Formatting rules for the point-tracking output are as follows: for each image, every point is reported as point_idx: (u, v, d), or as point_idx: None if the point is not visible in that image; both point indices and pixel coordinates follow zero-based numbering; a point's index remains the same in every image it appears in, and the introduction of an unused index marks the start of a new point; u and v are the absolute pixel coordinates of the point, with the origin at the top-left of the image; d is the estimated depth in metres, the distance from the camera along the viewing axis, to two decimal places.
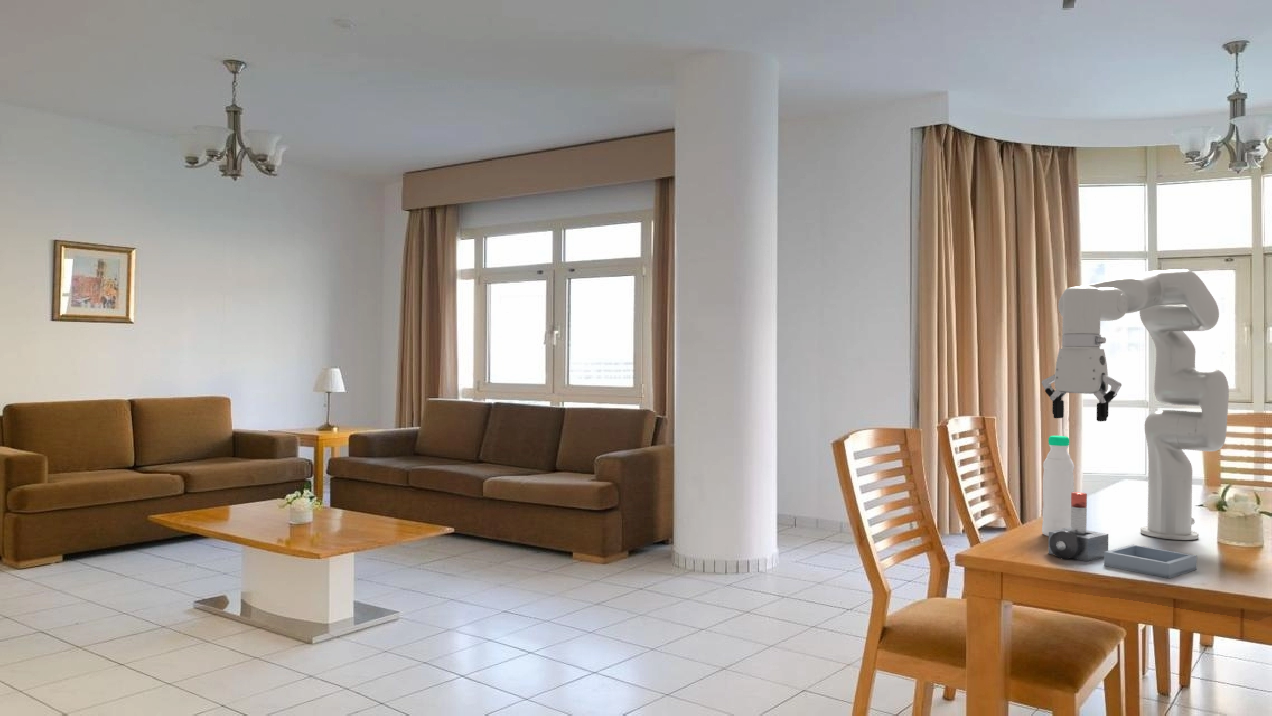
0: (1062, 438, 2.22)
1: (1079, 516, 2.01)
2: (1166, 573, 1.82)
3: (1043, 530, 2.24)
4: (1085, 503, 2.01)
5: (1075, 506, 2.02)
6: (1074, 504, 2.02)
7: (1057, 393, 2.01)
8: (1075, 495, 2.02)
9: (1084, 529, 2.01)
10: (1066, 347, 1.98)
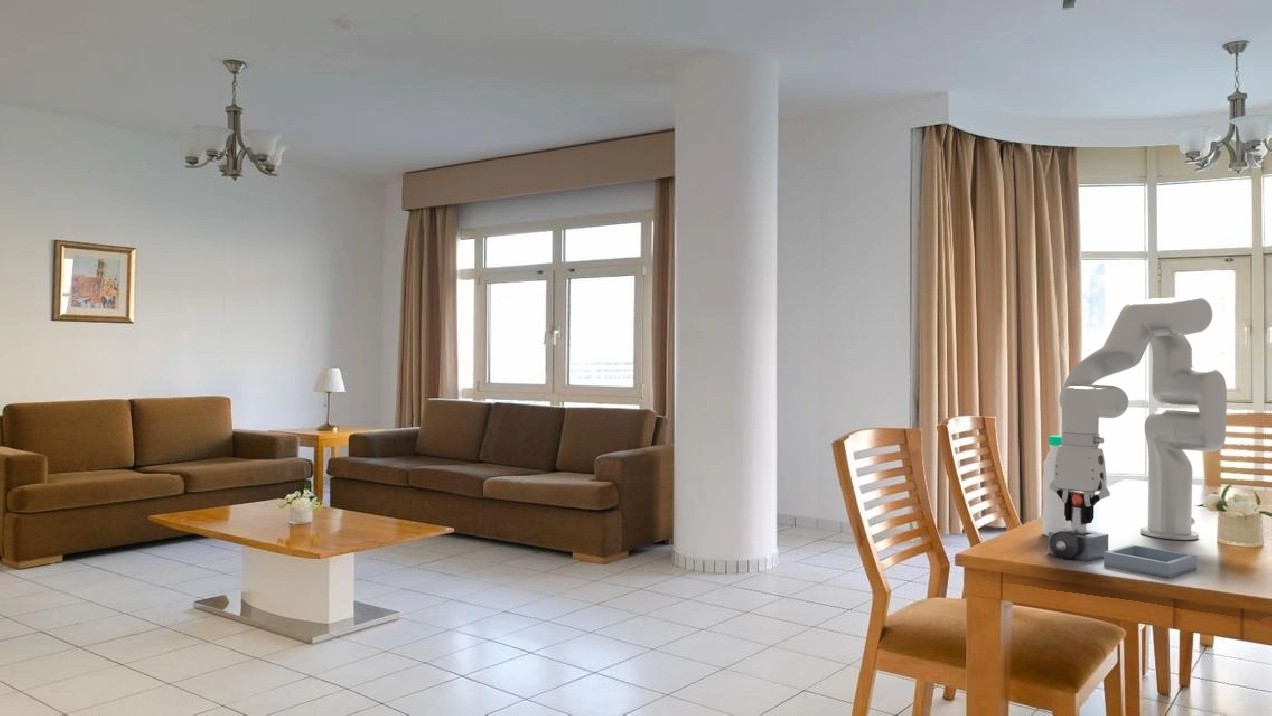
0: None
1: (1079, 516, 2.01)
2: (1166, 573, 1.82)
3: (1043, 530, 2.24)
4: None
5: (1075, 506, 2.02)
6: (1074, 504, 2.02)
7: (1066, 494, 2.04)
8: (1075, 495, 2.02)
9: (1084, 529, 2.01)
10: (1065, 446, 2.02)
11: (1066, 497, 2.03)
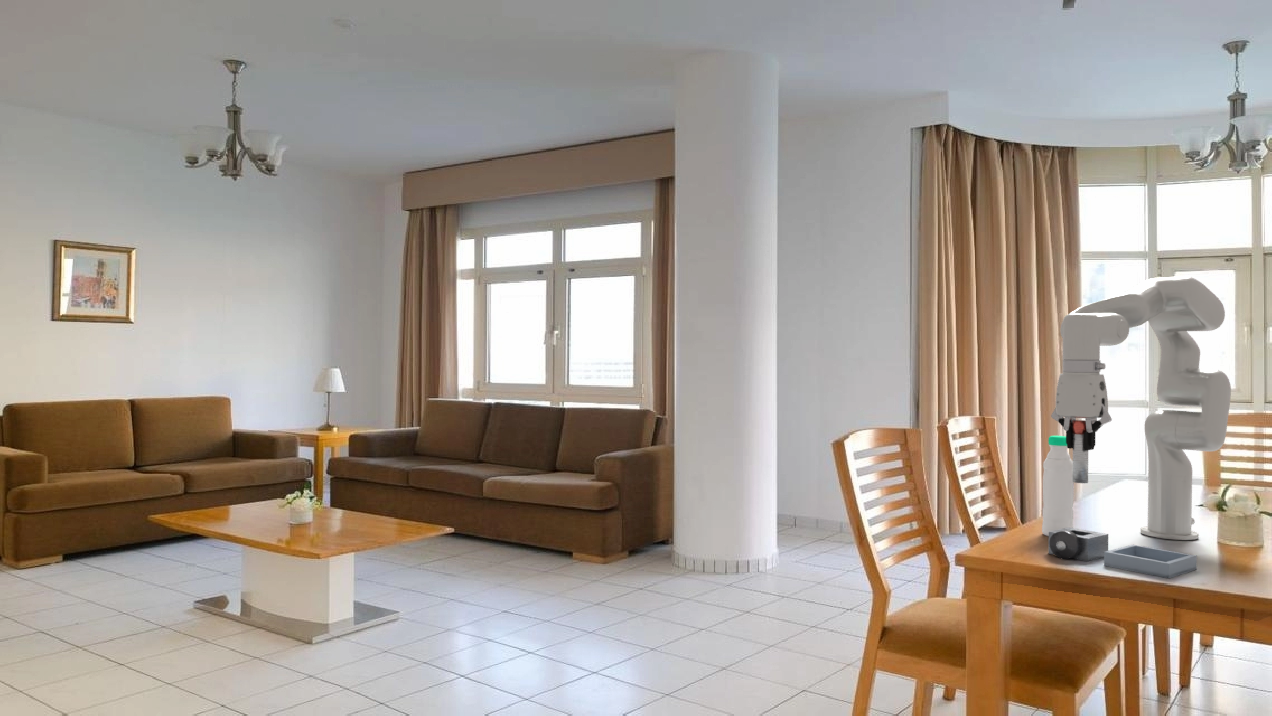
0: (1062, 438, 2.22)
1: (1081, 443, 2.01)
2: (1166, 573, 1.82)
3: (1043, 530, 2.24)
4: None
5: (1077, 433, 2.02)
6: (1076, 431, 2.02)
7: (1067, 421, 2.04)
8: (1077, 422, 2.02)
9: (1086, 456, 2.01)
10: (1066, 373, 2.01)
11: (1068, 425, 2.03)
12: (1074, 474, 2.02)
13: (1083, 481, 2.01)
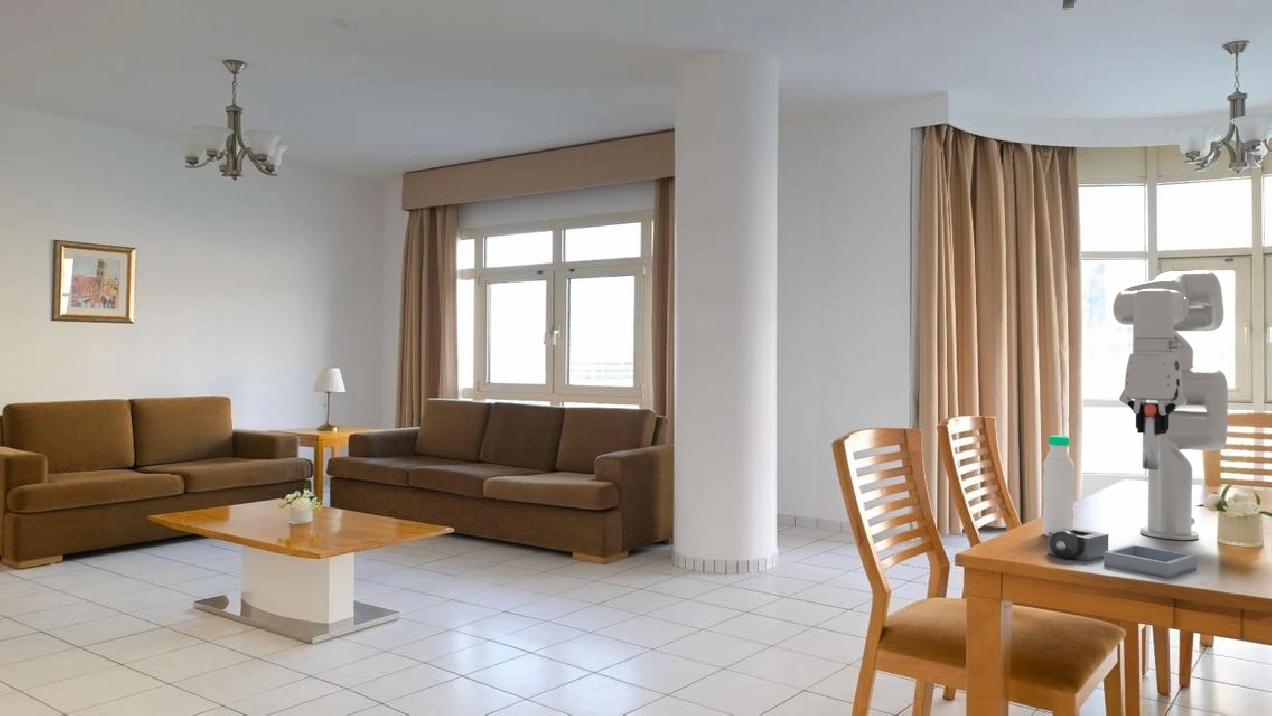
0: (1062, 438, 2.22)
1: (1153, 426, 1.89)
2: (1166, 573, 1.82)
3: (1043, 530, 2.24)
4: None
5: (1148, 416, 1.90)
6: (1147, 414, 1.90)
7: (1138, 404, 1.92)
8: (1148, 404, 1.90)
9: (1158, 440, 1.89)
10: (1138, 352, 1.90)
11: (1138, 407, 1.92)
12: (1145, 460, 1.90)
13: (1155, 467, 1.89)
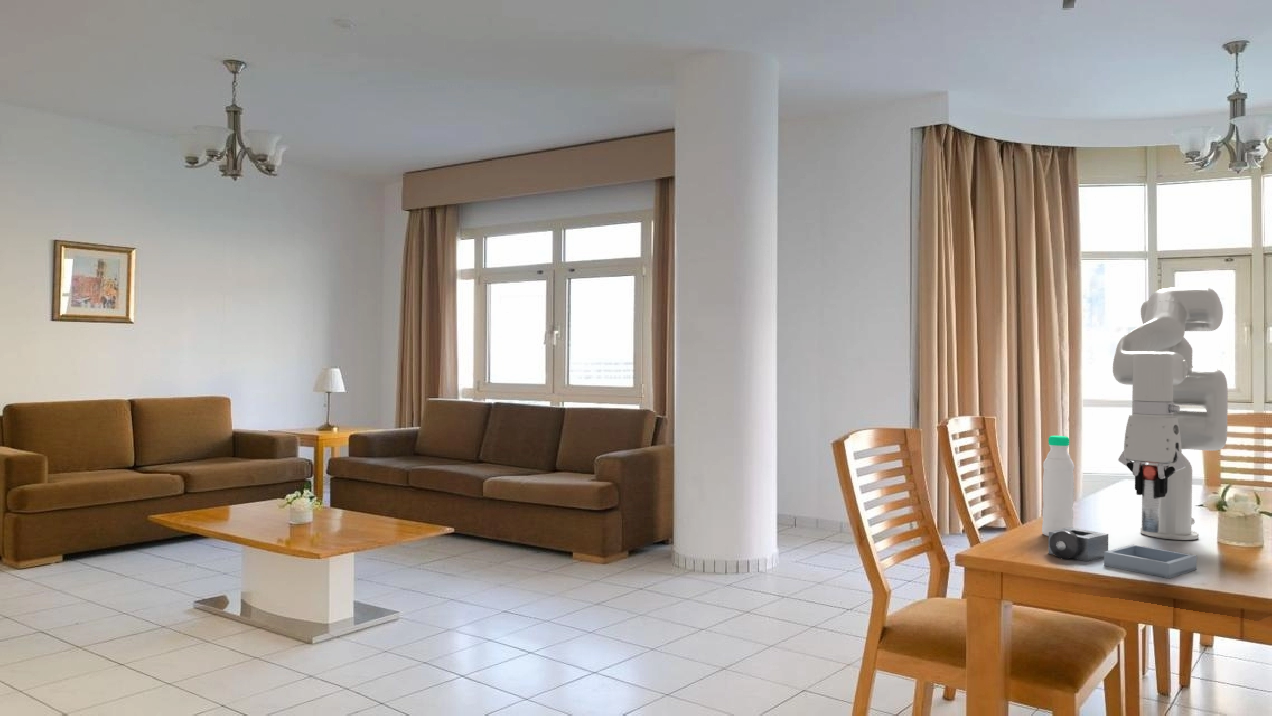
0: (1062, 438, 2.22)
1: (1152, 489, 1.89)
2: (1166, 573, 1.82)
3: (1043, 530, 2.24)
4: None
5: (1147, 479, 1.90)
6: (1146, 477, 1.90)
7: (1137, 466, 1.92)
8: (1147, 467, 1.90)
9: (1157, 503, 1.89)
10: (1137, 415, 1.90)
11: (1137, 470, 1.92)
12: (1144, 522, 1.90)
13: (1154, 530, 1.89)
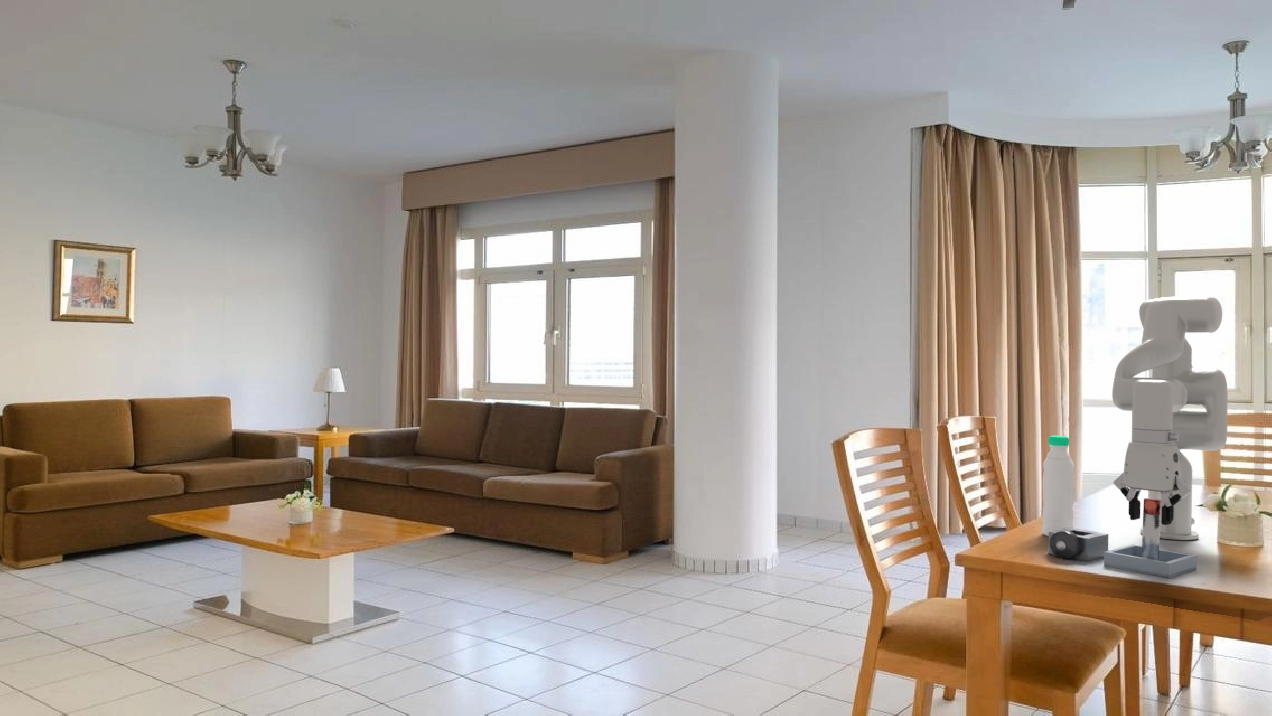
0: (1062, 438, 2.22)
1: (1152, 524, 1.89)
2: (1166, 573, 1.82)
3: (1043, 530, 2.24)
4: (1159, 510, 1.89)
5: (1148, 513, 1.90)
6: (1147, 511, 1.90)
7: (1132, 492, 1.93)
8: (1149, 501, 1.90)
9: (1157, 538, 1.89)
10: (1137, 442, 1.90)
11: (1132, 496, 1.93)
12: (1144, 556, 1.91)
13: None
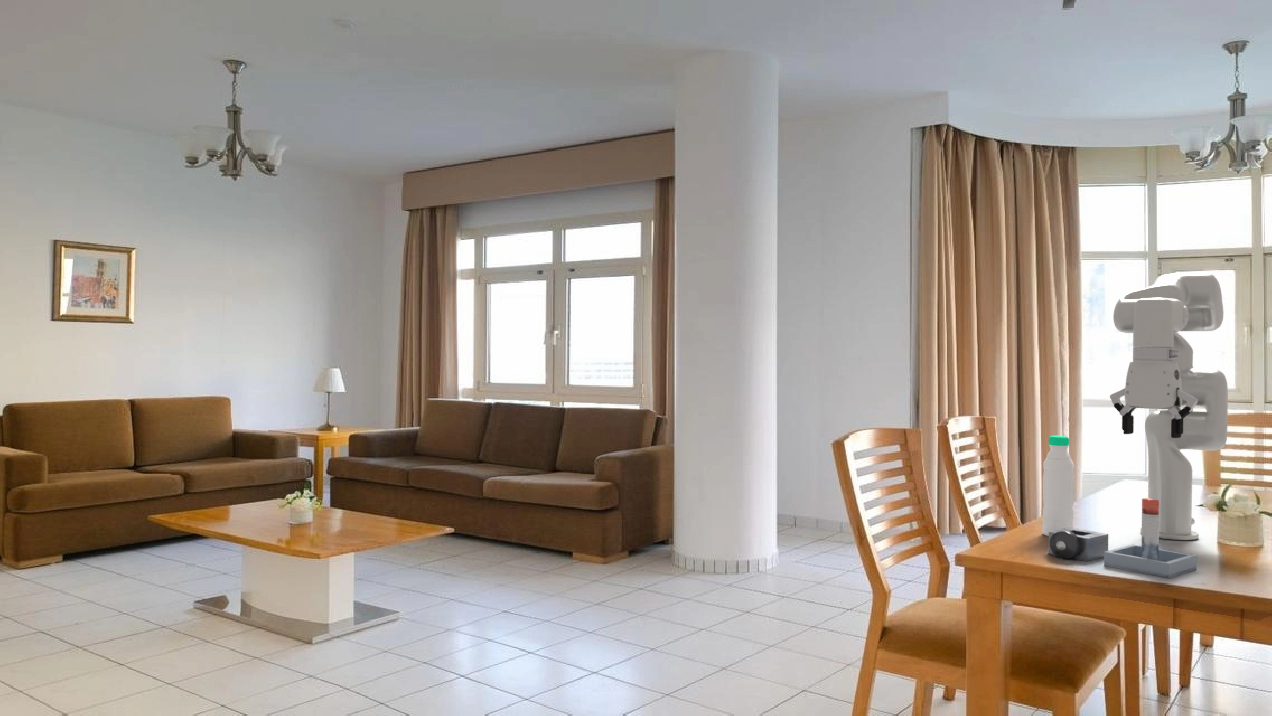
0: (1062, 438, 2.22)
1: (1151, 524, 1.90)
2: (1166, 573, 1.82)
3: (1043, 530, 2.24)
4: (1158, 510, 1.90)
5: (1147, 513, 1.90)
6: (1146, 511, 1.90)
7: (1127, 408, 1.94)
8: (1147, 501, 1.90)
9: (1157, 537, 1.90)
10: (1138, 361, 1.90)
11: (1126, 411, 1.94)
12: (1143, 556, 1.91)
13: None
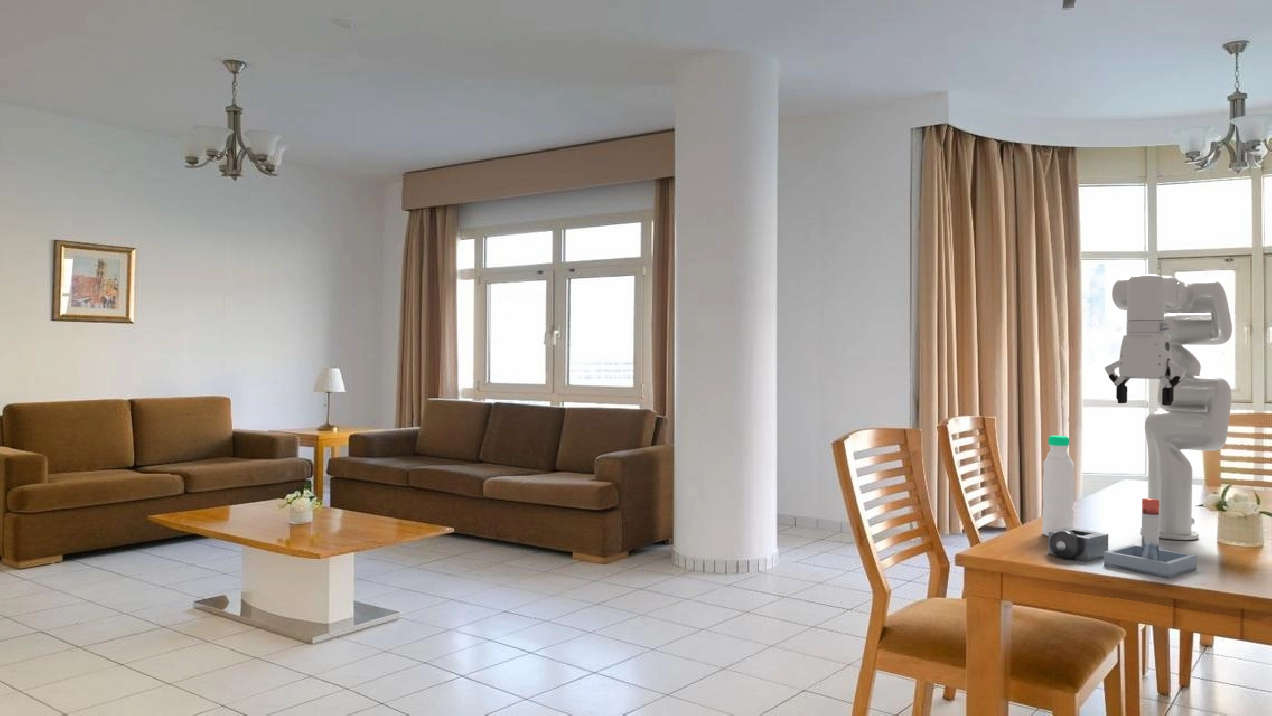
0: (1062, 438, 2.22)
1: (1151, 524, 1.90)
2: (1166, 573, 1.82)
3: (1043, 530, 2.24)
4: (1158, 510, 1.90)
5: (1147, 513, 1.90)
6: (1146, 511, 1.90)
7: (1121, 379, 2.06)
8: (1147, 501, 1.90)
9: (1157, 537, 1.90)
10: (1131, 334, 2.03)
11: (1120, 382, 2.07)
12: (1144, 556, 1.91)
13: None
